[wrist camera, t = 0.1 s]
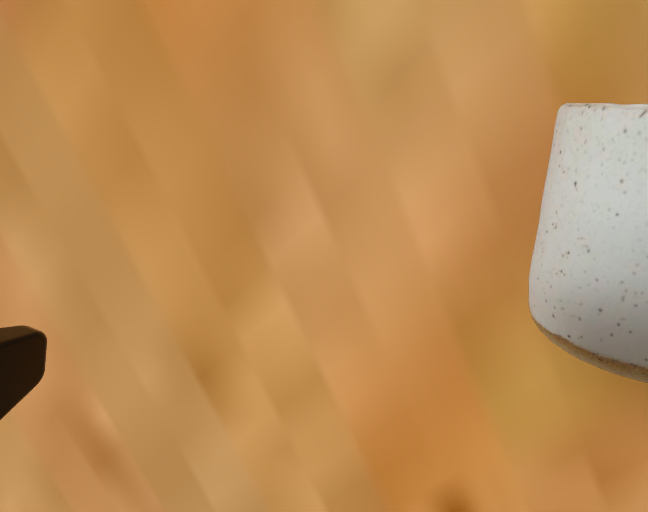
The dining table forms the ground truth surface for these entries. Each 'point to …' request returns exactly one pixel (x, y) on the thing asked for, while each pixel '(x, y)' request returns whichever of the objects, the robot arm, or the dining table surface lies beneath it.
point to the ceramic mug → (595, 238)
